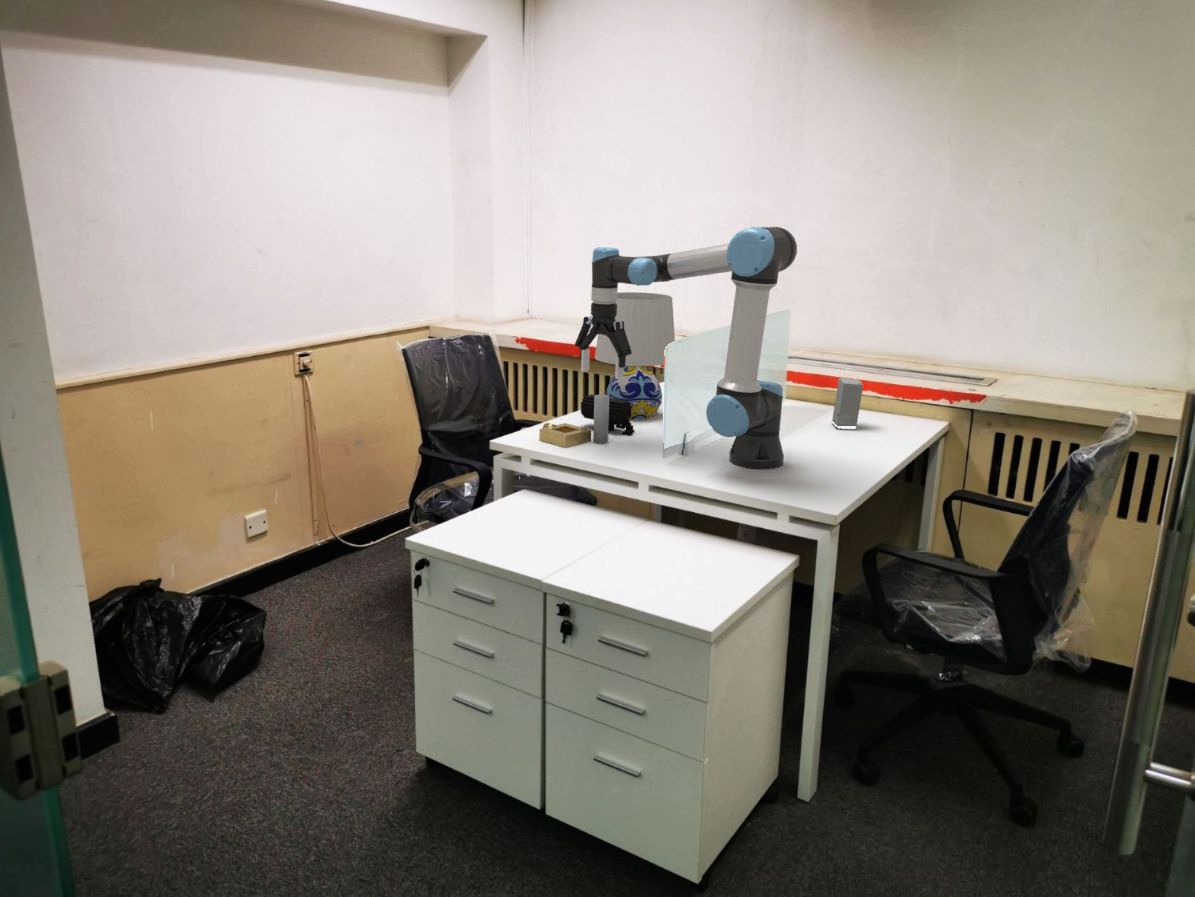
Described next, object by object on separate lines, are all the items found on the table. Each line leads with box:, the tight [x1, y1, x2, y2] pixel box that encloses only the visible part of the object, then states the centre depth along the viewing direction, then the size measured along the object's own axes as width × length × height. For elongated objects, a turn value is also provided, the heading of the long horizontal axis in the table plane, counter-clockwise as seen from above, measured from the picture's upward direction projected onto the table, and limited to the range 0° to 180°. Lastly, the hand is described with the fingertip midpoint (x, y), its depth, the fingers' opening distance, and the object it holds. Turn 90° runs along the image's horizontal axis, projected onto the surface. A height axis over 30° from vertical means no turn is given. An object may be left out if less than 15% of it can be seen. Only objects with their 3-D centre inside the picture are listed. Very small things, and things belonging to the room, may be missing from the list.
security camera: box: [580, 394, 636, 437], centre depth 283 cm, size 7×18×10 cm, turn 53°
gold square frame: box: [538, 422, 592, 449], centre depth 271 cm, size 14×11×4 cm
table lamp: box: [594, 291, 676, 421], centre depth 300 cm, size 27×27×40 cm
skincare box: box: [831, 377, 864, 427], centre depth 294 cm, size 8×7×16 cm
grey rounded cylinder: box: [592, 394, 609, 445], centre depth 269 cm, size 4×4×14 cm
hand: (601, 374), depth 266 cm, fingers open, 13 cm apart
